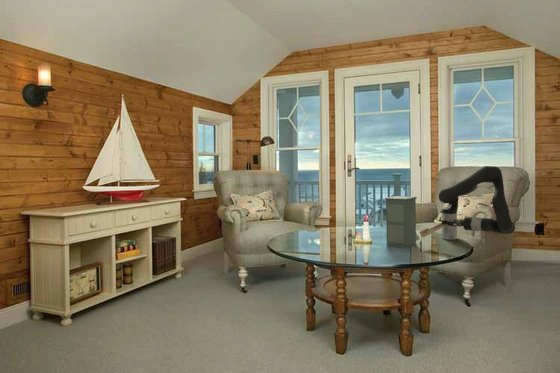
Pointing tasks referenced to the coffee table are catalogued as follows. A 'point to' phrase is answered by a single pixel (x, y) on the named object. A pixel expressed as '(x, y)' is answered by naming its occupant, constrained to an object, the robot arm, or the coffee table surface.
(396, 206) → the cabinet
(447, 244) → the coffee table surface
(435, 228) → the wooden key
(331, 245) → the coffee table surface
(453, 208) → the robot arm
